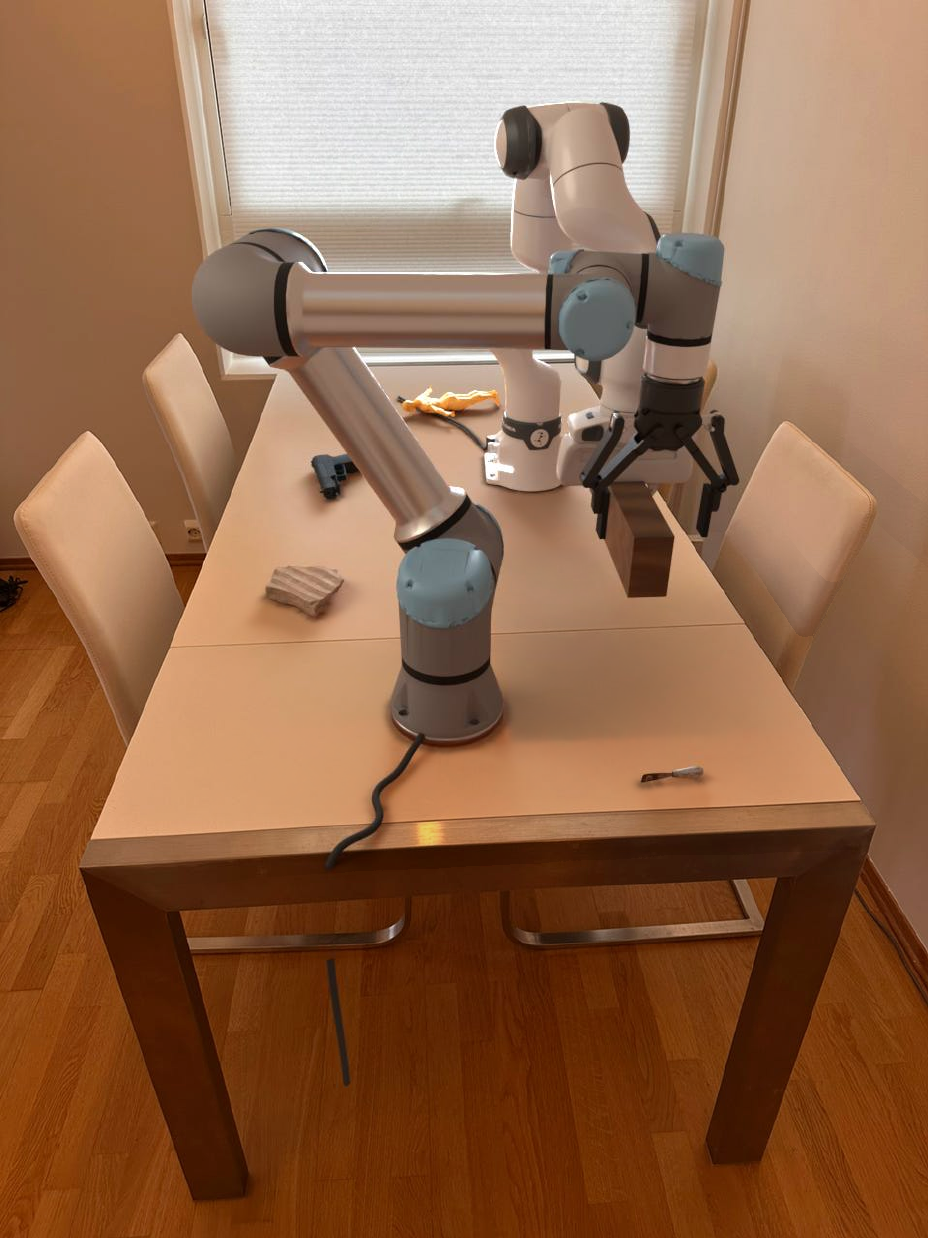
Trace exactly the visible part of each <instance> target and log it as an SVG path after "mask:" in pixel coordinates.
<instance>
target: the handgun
mask: <svg viewBox="0 0 928 1238" xmlns="http://www.w3.org/2000/svg"><path fill="white" fill-rule="evenodd" d="M310 466H311V467H312V469H313V471H314V473H315V475H316V478H317V482H318V485H319V487H320V489H321V490H319V494H322V495H323V497H324V498H325V499H326V500H336V498H337V495H338V496H340V495H341V486H340V482H345V481H347V478H348V477H347V475H352V474H355V473H361V472H360V471H359V470H358V468H357V467H356V465H355V464H354V463H353V461H352V460H351V458H350V457H349V456H348V454H347V453H343V454H340V455H335V456H332V455H330V454H318V455H317V454H316V455H315V456H313V457H312V458H311V460H310Z"/></svg>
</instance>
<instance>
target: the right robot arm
mask: <svg viewBox="0 0 928 1238" xmlns="http://www.w3.org/2000/svg"><path fill="white" fill-rule="evenodd" d="M630 127H631V126H630V122H629V118H628V116H627V113H626V112H625V110H624V108H623V107H621V106H620V105H617V104H614V103H609V102H603V101H601V102H599V103H593V102H585V101H562V102H557V103H556V102H555V103H554V102H553V103H545V104H544V103H543V104H538V105H532V106H527V105H524V104H523V105H519V106H514V107H511V108H509V109H506V110H505V111H504V112H503V114H502V115H501V117H499V119H498V122H497V127H496V131H495V135H494V143H493V145H494V153H495V157H496V160H497V164H498V167H499V170H500V171H501V172H502V173H503V174H504V175H505V176H506V177H508V178H510V179H514V184H513V193H512V203H511V204H512V205H511V206H512V207H511V225H510V226H511V228H510V231H511V232H510V251H511V254H512V257H514V259H515V260H516V261H517V262H518V263H519V264H520V265H521V266H523V267H525V268H527V269H528V270H530V271H533V272H534V273H541V274H549V265H550V259H551V256H552V255H553V254H554V253H555V252H557V251H573V242H574V243H575V244H576V245H579V246H580V247H584V248H586V249H589V250H591V251H600V252H619V253H639V254H642V253H647V254H648V253H652V252H655V249H656V248H657V245H658V241H659V239H660V238H661V237H662V235H661V233H660V231H659V228H658V226H657V224H656V221H655V220H654V218H653V216H652V215H651V214H649V213H648V212H646V211H645V210H643V209H642V208H641V207H640V205H639V204H638V202H636V200H635V199H634V197H633V196H632V194H631V192H630V190H629V188H628V185H627V182H626V178H625V172H624V166H623V164H625V162H626V160H627V157H628V153H629V148H630V144H631V143H630V141H631V128H630ZM647 329H648V323H642V322H641V323H635V325H634V329H633V333H632V336H631V338H630V340H629V342H628V343H627V344H626V346H625V347H624V348H623V349H622V350H621V351H620V352H619V353H617V354H616V355H614V356H613V357H611V358H608V359H606V360H602V361H588V360H585V359H582V358H580V357H577V356H576V355H575V354H573V360H574V361H573V362H574V368H575V370H576V371H577V373H578V374H579V375H580V376H581V377H583V379H585V380H586V381H588V382H589V383H590V384H592V385H600V386H601V387H602V391H601V392H602V393H601V396H600V399H599V404H597V405H594V406H592V407H589V408H586V409H583V410H580V411H576V412H574V413H571V414H569V415H568V417H567V419H566V423H567V424H566V426H567V427H566V428H567V430H568V431H567V432H566V433H565V434H564V435H562V434H561V433H562V426H563V420H562V419H563V418H562V413H561V397H562V396H561V395H562V379H561V376H560V373H559V372H558V371H557V370H556V368H554V367H553V366H552V365H550V364H548V363H546V362H545V361H543V360H540V359H538V358H535V357H534V355H533V353H534V352H533V351H534V350H531V349H488V351H489V352H490V353H491V354H492V355H493V356H494V358H495V359H496V361H497V362H498V364H499V366H500V369H501V372H502V375H503V380H504V381H503V382H504V394H505V396H504V398H505V399H504V400H505V402H504V403H505V405H504V407H505V409H504V412H503V413H502V419H501V429H500V431H498V433H496V434H492V435H486V438H485V445H484V444H483V442H481V440H480V438H479V437H478V436H477V435H476V434H475V433H474V432H473V431H472V430H471V429H470V428H469V427H467V426H466V425H464V424H463V423H461V422H460V421H458V420H456V419H454V418H452V417H451V416H450V417H449V416H445V415H443V414H439V413H432V412H431V413H430V414H432V415H435V416H437V417H440V418H442V419H444V420H447V421H449V422H451V423H453V424H455V425H457V426H459V427H460V428H462V429H464V430H465V431H466V432H468V434H469V435H470V436H471V437H472V438H473V439H474V440H475V441H476V442H477V444H478V446H479V447H480V448H481V449H483V450H484V451H486V450H487V452H485V454H484V458H483V459H484V460H483V462H484V472H485V473H484V474H485V482H486V484H490V485H495V486H501V487H504V488H507V489H510V490H513V491H514V490H515V491H519V492H544V491H549V490H552V489H555V488H558V487H560V486H561V485H562V486H565V487H577V486H578V487H580V486H583V485H582V483H581V481H580V479H579V475H580V473H581V471H582V470H583V468H584V466H585V465H586V463H587V461H588V460H589V458H590V457H591V455H592V453H593V452H594V450H595V448H596V447H597V445H598V444H599V442H600V440H601V439H602V437H603V435H604V434H605V432H606V431H607V429H608V426H609V422H610V417H611V414H612V412H614V411H619V412H620V414H622V415H632V416H634V414H635V413H636V411H637V409H638V401H639V393H640V385H641V377H642V375H643V374H644V373H645V371H644V370H643V362H644V354H645V346H646V339H647ZM397 399H398V400H400V401H402V402H404V401H406V400H407V399H406V398H405V397H402V396H400V395H397ZM416 409H419V410H421V409H420V408H418V407H416ZM636 432H637V431H636V429H635V427H634V426H630V427H629V428H628V430H627V431H626V432H625V433H622V435H621V438H620V440H619V442H618V443H617V445H616V447H615V448H614V450H613V451H612V453H611V455H610V456H609V458H608V459H607V461H606V463H605V464H604V466H603V467H602V469H603V468H604V467H605V466H606V465H607V464H608V463H609V462H610V461H611V460H612V459H613V458H614V457H615V456H616V455H617V454H618V453H619V452H620V451H621V450H622V449H623V448H624V447H625V446H626V445H627V443H628V442H629V439H630V438H631V437H632V436H633V435H634V434H635V433H636ZM697 437H698V431H697V432H696V433H695V434H694V435H693V436H692V437H691V438H692V439H693V440H694V442H695V443H696V444H697ZM693 464H694V458H693V457H692V456H691V454H690V453H689V451H688V450H687V449H686V447H685V446H683V447H682V448H680V449H678V451H670V450H662V451H653V450H652V449H648V450H647V451H646V452H645V453H644V454H643V455H640V456H638V457H637V458H636V459H635V460H634V461H633V462H632V463H631V464H630V465H629V466H628V467H627V468H626V469H625V470H624V471H623V472H622V473H621V474H620V475H619V476H618V477H617V478H616V479H615V480H614V481H613V482H631V481H644V482H645V484H646V486H647V488H648V490H649V491H650V493H651V495H652V497H653V496H654V495H655V494H656V493H657V491H658V490H659V484H686V483H687V482H688V481H689V480H690V479H691V478H692V476H693ZM602 469H601V470H602ZM588 490H589V492H590V494H591V495H592V489H591V488H588Z"/></svg>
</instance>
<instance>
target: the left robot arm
mask: <svg viewBox="0 0 928 1238" xmlns="http://www.w3.org/2000/svg"><path fill="white" fill-rule="evenodd" d="M725 250H726V248H725V244H724V243H723V242H722V241H721V239H720V238H718V237H716V236H714V235H710V234H706V233H698V232H679V233H677V232H676V233H675V232H671V233H670V232H669V233H665V234H663V235H661V238H660V239H659V241H658V245H657V248H656V249H655V252H652V253H648V254H647V253H642V254H639V253H619V252H600V251H596V250H585V249H584V248H579V249H576V250H572V251H557V252H555V253H554V254H553V255H552V256H551V259H550V265H549V274H541V273H537V272H533V273H528V272H527V273H526V272H525V273H523V272H521V273H519V272H517V273H515V272H514V273H512V272H511V273H510V272H509V273H508V272H507V273H505V272H504V273H503V272H500V273H499V272H497V273H495V272H329V270H328V267H327V264H326V261H325V259H324V257H323V256H322V253H321V252H320V251H319V249H318V248H317V247H316V246H315V245H314V244H313V242H311V241H310V240H309V239H307V237H305V236H304V235H302V234H300V233H298V232H296V231H294V230H291V229H288V228H282V227H268V228H259V229H256V230H252V231H250V232H249V233H247V234H245V235H243V236H240V238H238V239H236V240H235V241H233V242H231V243H229V244H227V245H224V246H222V247H220V248H218V249H217V250H214V251H213V252H212V253H211V254H209V255H207V257H206V258H205V259H204V260H203V261H202V262H201V264H200V265H199V267H198V268H197V270H196V272H195V274H194V278H193V281H192V284H191V296H190V297H191V305H192V310H193V312H194V316H195V319H196V321H197V323H198V325H199V326H200V328H201V329H202V331H203V332H204V334H205V335H206V336H207V337H208V338H209V339H210V340H211V341H212V342H213V343H214V344H216V345H218V346H219V347H220V348H222V349H224V350H225V351H228V352H230V353H232V354H236V355H239V356H246V357H255V358H256V357H258V358H259V357H262V358H263V359H264V361H265V362H266V365H268V367H269V368H273V369H278V370H283V371H285V372H287V373H288V374H289V375H290V377H291V378H292V379H293V381H294V382H295V384H296V385H297V386H298V388H299V389H300V390H301V392H302V393H303V395H304V396H305V397H306V399H307V401H309V403H310V405H311V406H312V407H313V408H314V410H315V411H316V413H317V414H318V416H319V417H320V419H322V421H323V423H324V424H325V425H326V426H327V428H328V430H330V432H331V434H332V435H333V436H334V438H335V439H336V440H337V442H338V443H339V444H340V446H341V448H342V449H343V450H344V452H345V454H348V456H349V457H350V458H351V460H352V461H353V463H354V464H355V465H356V467H357V468H358V470H359V471H360V472H359V473H360V474H361V475H362V477H363V478H364V480H365V481H366V482H367V483H368V486H369V487H370V488H371V490H372V491H373V492H374V493H375V495H376V496H377V498H378V499H379V500H380V502H381V503H382V504H383V506H384V508H385V509H386V510H387V511H388V513H389V515H390V517H392V518H393V520H394V521H395V527H394V533H393V539H394V541H395V542H396V543H397V545H398V546H399V547H400V549H401V550H402V552H403V553H404V554H405V555H404V556H403V557H402V559H401V561H400V563H399V566H398V570H397V578H396V583H395V587H396V588H395V589H396V597H397V600H398V602H397V603H398V616H399V617H398V618H399V633H400V634H399V637H400V639H399V640H400V655H401V667H400V669H399V672H398V675H397V678H396V681H395V684H394V687H393V690H392V693H391V696H390V704H389V705H390V718H391V721H392V724H393V725H394V727H395V728H396V729H397V731H398V732H399V733H400V734H402V735H403V736H404V737H406V738H407V739H409V740H411V741H412V743H411V744H410V746H409V747H408V749H407V751H406V753H405V754H404V756H403V757H402V759H401V760H400V762H399V764H398V766H397V767H396V768H395V769H394V770H393V771H392V772H391V773H390V774H388V775H387V776H386V777H384V778H382V780H380V781H379V782H378V783H377V784H376V786H375V787H374V789H373V791H372V794H371V803H372V807H373V810H374V814H375V818H374V819H373V821H372V822H371V824H370V825H368V826H367V827H366V828H364V829H362V830H359V831H357V832H355V833H353V834H351V835H348V836H347V837H345V838H344V839H342V840H341V841H340V842H338V843H337V845H335V846H334V847H333V849H332V850H331V852H330V854H329V856H328V858H327V859H326V861H325V867H326V869H331V868H333V867H335V865H336V862H337V860H338V858H339V857H340V856H341V854H342V853H343V852H344V851H345V850H346V849H347V848H348V847H350V846H352V845H353V844H355V843H357V842H359V841H361V840H364V839H366V838H369V836H371V835H373V834H374V833H376V832H377V831H378V830H379V828H380V827H381V826H382V824H383V822H384V816H385V815H384V807H383V805H382V802H381V797H380V796H381V794H382V792H383V791H384V790H385V789H386V788H387V787H388V786H389V785H391V784H392V783H394V782H395V781H396V780H398V778H400V777H401V775H402V774H403V773H404V772H405V770H406V768H407V767H408V765H409V764H410V762H411V760H412V759H413V757H414V755H415V754H416V752H417V751H418V750H419V747H420V746H421V745H425V746H430V747H437V748H454V747H455V748H457V747H463V746H467V745H471V744H473V743H476V742H480V741H481V740H483V739H485V738H486V737H488V736H489V735H491V734H492V733H493V732H494V731H495V730H496V729H498V727H499V726H500V724H501V722H502V720H503V717H504V697H503V693H502V690H501V687H500V685H499V682H498V679H497V677H496V674H495V672H494V668H493V666H492V664H491V654H492V653H491V651H492V649H491V648H492V647H491V645H492V614H493V613H492V612H493V606H494V600H495V595H496V589H497V585H498V581H499V576H500V573H501V567H502V565H503V560H504V556H505V555H504V554H505V544H504V536H503V532H502V529H501V526H500V524H499V522H498V520H497V519H496V516H494V514H493V513H492V512H491V511H490V510H489V509H488V508H486V507H485V506H483V505H482V504H480V503H475V502H473V501H472V499H471V498H470V496H469V495H468V493H467V491H466V490H465V489H464V488H462V487H458V486H452V485H449V484H447V482H446V481H445V479H444V477H443V476H442V474H441V473H440V472H439V471H438V468H437V467H436V466H435V464H434V463H433V462H432V460H431V458H430V457H429V455H428V454H427V453H426V451H425V450H424V448H423V446H422V445H421V443H420V442H419V441H418V439H417V438H416V436H415V435H414V433H413V432H412V430H411V428H410V427H409V426H408V425H407V422H406V421H405V420H404V418H403V417H402V415H401V414H400V412H399V411H398V410H397V408H396V406H395V405H394V403H393V402H392V401H391V399H390V398H389V397H388V394H387V393H386V392H385V390H384V388H383V387H382V385H381V384H380V383H379V381H378V380H377V378H376V377H375V375H374V373H373V372H372V371H371V370H370V368H369V366H368V365H367V364H366V362H365V361H364V359H363V357H362V356H361V355H360V353H359V351H358V350H357V348H364V349H441V350H443V349H444V350H445V349H451V350H452V349H454V350H457V349H458V350H489V349H531V350H533V351H534V350H539V351H540V350H541V351H542V350H543V351H548V350H550V351H569V352H570V353H572V354H573V355H574V354H575V355H576V356H577V357H580V358H582V359H585V360H588V361H602V360H606V359H608V358H611V357H613V356H614V355H616V354H617V353H619V352H620V351H621V350H622V349H623V348H624V347H625V346H626V344H627V343H628V342H629V340H630V338H631V336H632V333H633V329H634V325H635V323H641V322H642V323H648V329H647V339H646V346H645V354H644V362H643V370H644V371H645V373H644V374H643V375H642V377H641V385H640V393H639V401H638V409H637V411H636V413H635V414H634V416H632V415H622V414H620V412H619V411H614V412H612V414H611V417H610V422H609V426H608V429H607V431H606V432H605V434H604V435H603V437H602V439H601V440H600V442H599V444H598V445H597V447H596V448H595V450H594V452H593V453H592V455H591V457H590V458H589V460H588V461H587V463H586V465H585V466H584V468H583V470H582V471H581V473H580V475H579V479H580V481H581V483H582V485H581V486H582V487H583V488H585V489H589V488H591V489H592V494H591V499H590V509H591V510H592V512H593V514H594V515H596V523H595V532H596V535H597V536H598V538H599V540H604V539H606V530H607V521H608V512H609V503H610V494H611V493H610V491H609V489H608V488H607V487H608V486H609V485H610V484H611V483H612V482H613V481H614V480H615V479H616V478H617V477H618V476H619V475H620V474H621V473H622V472H623V471H624V470H625V469H626V468H627V467H628V466H629V465H630V464H631V463H632V462H633V461H634V460H635V459H636V458H637V457H638V456H640V455H643V454H644V453H645V452H646V451H647V450H648V449H652V450H653V451H662V450H670V451H678V449H680V448H682V447H683V446H685V447H686V449H687V450H688V451H689V453H690V454H691V456H692V457H693V461H695V463H696V464H697V465H698V467H699V468H700V469H701V471H702V472H703V474H704V475H705V477H706V478H707V479H708V480H709V482H710V483H709V482H708V483H707V482H706V483H705V482H704V483H702V490H701V495H700V501H699V507H698V514H697V519H696V525H695V529H696V531H697V532H698V534H699V536H700V537H701V538H708V536H709V531H710V525H711V518H712V515H713V514H712V513H717V512H719V510H720V507H721V501H722V497H723V493H725V492H726V491H727V489H728V487H730V486H733V487H734V486H737V485H739V484H740V477H739V473H738V470H737V468H736V465H735V462H734V460H733V459H734V458H733V456H732V453H731V450H730V447H729V443H728V441H727V438H726V436H725V426H726V425H725V424H726V418H725V417H724V416H723V415H722V414H721V413H720V412H719V411H718V410H717V409H712V410H711V411H710V412H709V413H705V414H701V409H702V403H703V397H704V391H705V384H706V381H705V379H704V377H705V376H706V375H707V374H708V367H709V360H710V353H711V346H712V340H713V339H712V338H713V333H714V327H715V320H716V315H717V309H718V304H719V299H720V293H721V288H722V285H723V281H722V275H723V269H724V268H723V266H724V259H725V258H724V257H725ZM630 426H634V427H635V429H636V431H637V432H636V433H635V434H634V435H633V436H632V437H631V438H630V439H629V442H628V443H627V445H626V446H625V447H624V448H623V449H622V450H621V451H620V452H619V453H618V454H617V455H616V456H615V457H614V458H613V459H612V460H611V461H610V462H609V463H608V464H607V465H606V466H605V467H604V468H603V469H602V467H603V466H604V464H605V463H606V461H607V459H608V458H609V456H610V455H611V453H612V451H613V450H614V448H615V447H616V445H617V443H618V442H619V440H620V438H621V435H622V433H625V432H626V431H627V430H628V428H629V427H630ZM702 426H703V427H704V429H705V430H706V431H707V432H709V435H710V438H711V441H712V444H713V447H714V451H715V453H716V456H717V459H718V462H719V465H720V467H721V471H722V473H721V474H718V472H717V471H716V470H715V468H714V467H713V465H712V464H711V463H710V462H709V460H708V458H706V456H705V454H704V453H703V452H702V450H701V449H700V447H699V446H698V445H697V442H696V443H695V442H694V440H693V439H692V438H691V437H692V436H693V435H694V434H695V433H696V432H697V433H698V431H699V430H700V428H701V427H702ZM601 469H602V470H601ZM335 959H336V958H334V957H332V958H328V959H326V969H327V979H328V986H329V993H330V1002H331V1007H332V1008H331V1009H332V1014H333V1020H334V1027H335V1034H336V1039H337V1045H338V1052H339V1060H340V1066H341V1076H342V1084H343V1085H344V1087H348V1086H350V1084H351V1075H350V1074H351V1073H350V1064H349V1057H348V1050H347V1042H346V1036H345V1030H344V1023H343V1016H342V1011H341V1010H342V1008H341V1003H340V996H339V995H340V994H339V988H338V980H337V970H336V960H335Z"/></svg>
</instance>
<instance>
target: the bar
mask: <svg viewBox="0 0 928 1238" xmlns="http://www.w3.org/2000/svg"><path fill="white" fill-rule="evenodd" d="M647 487H648V486H647V484H645V482H644V481H631V482H612V483H611V484H610V485H609V486H608V487H607V488H608V489H609V491H610V493H611V494H610V503H609V512H608V521H607V530H606V539H603V541H604V543H605V545H606V549H607V551H608V552H609V555H610V557H611V560H612V563H613V565H614V567H615V570H616V572H617V573H616V574H617V575H618V577H619V580H620V581H621V585H622V588H623V589H624V592H625V594H626V597H627V598H628V599H636V598H637V599H638V598H640V599H641V598H667V596H668V588H669V581H670V574H671V567H672V560H673V551H674V545H675V538H676V537H675V534H674V533H673V531H672V529H671V527H670V525H669V523H668V522H667V520H666V518H665V516H664V515H663V513H662V511H661V509H660V507H659V506H658V504H657V502H656V500H655V498H654V497H653V496H652V495H651V493H650V491H649V490H648V488H647Z"/></svg>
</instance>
